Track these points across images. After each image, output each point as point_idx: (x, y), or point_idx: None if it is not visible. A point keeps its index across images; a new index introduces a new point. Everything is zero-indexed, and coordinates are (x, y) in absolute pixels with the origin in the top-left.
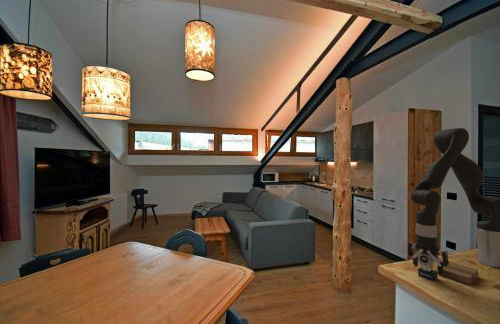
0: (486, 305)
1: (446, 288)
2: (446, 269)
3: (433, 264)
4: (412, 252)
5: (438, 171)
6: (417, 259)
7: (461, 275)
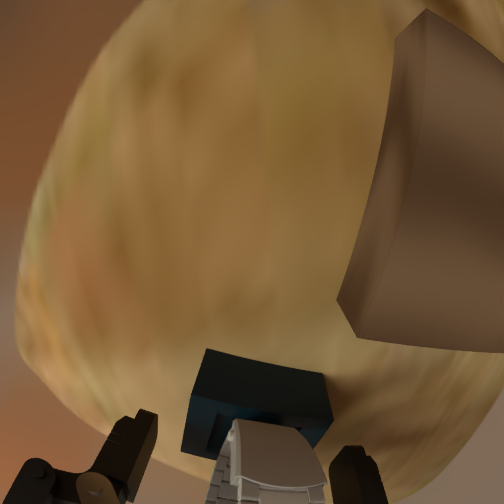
0: (451, 448)
1: None
2: (431, 300)
3: (310, 447)
4: (51, 500)
5: None
6: (134, 478)
7: (494, 346)
